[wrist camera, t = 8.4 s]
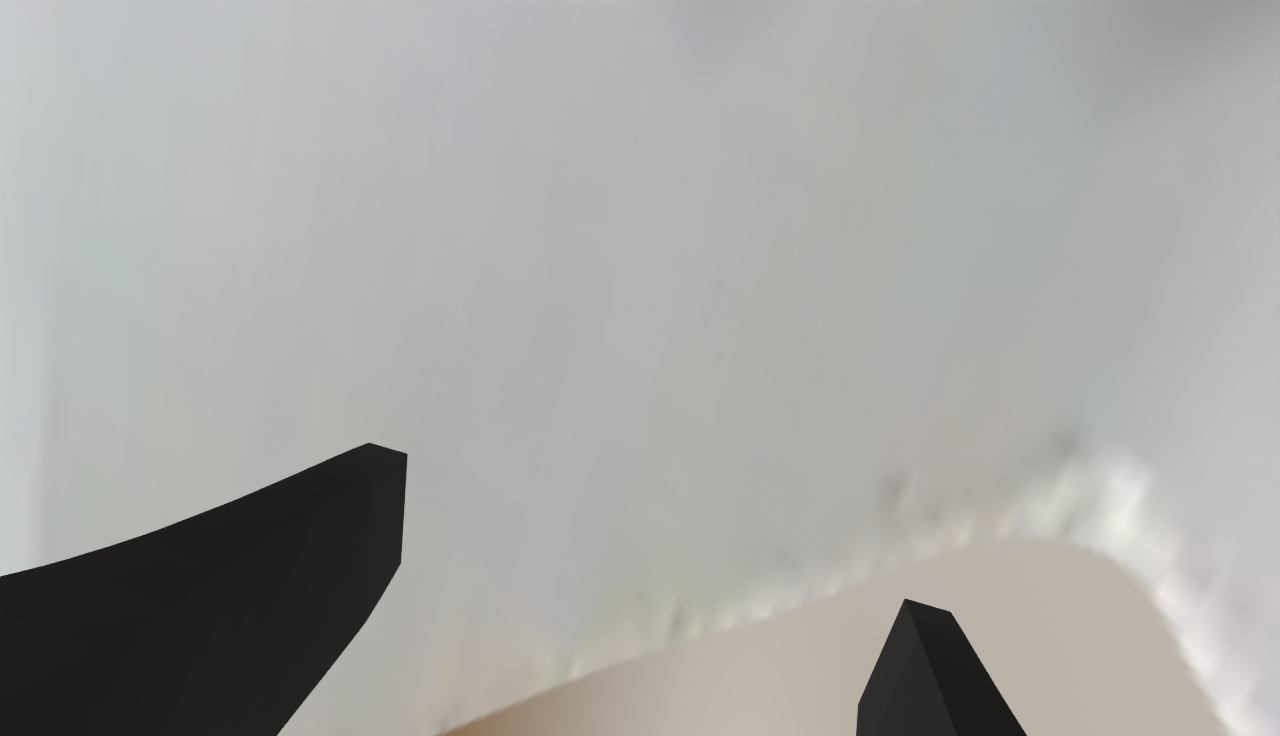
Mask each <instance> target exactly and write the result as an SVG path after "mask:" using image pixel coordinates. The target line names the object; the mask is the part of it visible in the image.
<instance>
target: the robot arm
mask: <svg viewBox="0 0 1280 736" xmlns="http://www.w3.org/2000/svg"><path fill="white" fill-rule="evenodd" d="M407 455H408V454H406V453H403V452H399V451H396V450H392V449H389V448H385V447H382V446H379V445H375V444H372V443H367V444H364V445H362V446H359V447H357V448H354V449H352V450H349V451H347V452H344V453H342V454H340V455H338V456H335V457H333V458H331V459H328V460H326V461H324V462H322V463H319V464H317V465H315V466H313V467H310V468H308V469H306V470H304V471H301V472H299V473H297V474H295V475H292V476H290V477H288V478H285V479H283V480H281V481H278V482H276V483H274V484H271V485H269V486H267V487H265V488H262V489H260V490H258V491H255V492H253V493H251V494H248V495H246V496H244V497H241V498H239V499H237V500H234V501H232V502H229V503H227V504H224V505H221V506H219V507H216V508H214V509H211V510H208V511H206V512H203V513H201V514H198V515H195V516H193V517H190V518H188V519H185V520H183V521H180V522H177V523H175V524H172V525H170V526H167V527H164V528H162V529H159V530H157V531H154V532H151V533H148V534H145V535H142V536H139V537H136V538H133V539H130V540H127V541H124V542H121V543H118V544H115V545H112V546H109V547H106V548H102V549H99V550H96V551H93V552H89V553H86V554H83V555H79V556H76V557H73V558H70V559H66V560H63V561H59V562H56V563H52V564H49V565H45V566H41V567H37V568H33V569H29V570H25V571H21V572H17V573H13V574H9V575H5V576H1V577H0V736H277V735H278V733H279V732H280V731H281V729H282V728H283V727H284V726H285V724H286V723H287V722H288V721H289V719H290V718H291V717H292V716H293V714H294V713H295V712H296V711H297V709H298V708H299V707H300V705H301V704H302V703H303V702H304V700H305V699H306V698H307V697H308V695H309V694H310V693H311V692H312V690H313V689H314V688H315V687H316V685H317V684H318V683H319V681H320V680H321V679H322V678H323V676H324V675H325V674H326V673H327V671H328V670H329V669H330V668H331V666H332V665H333V664H334V662H335V661H336V660H337V659H338V657H339V656H340V655H341V653H342V652H343V651H344V650H345V648H346V647H347V646H348V644H349V643H350V642H351V641H352V639H353V638H354V637H355V635H356V634H357V633H358V632H359V630H360V629H361V628H362V626H363V625H364V624H365V622H366V621H367V619H368V618H369V616H370V614H371V613H372V611H373V609H374V608H375V606H376V605H377V603H378V601H379V600H380V598H381V597H382V595H383V593H384V591H385V590H386V588H387V586H388V585H389V583H390V581H391V579H392V578H393V576H394V574H395V572H396V571H397V569H398V567H399V566H400V564H401V552H402V536H403V520H404V503H405V487H406V471H407ZM856 736H1027V735H1026V733H1025V732H1024V730H1023V729H1022V727H1021V726H1020V724H1019V722H1018V721H1017V719H1016V718H1015V716H1014V715H1013V713H1012V712H1011V710H1010V708H1009V707H1008V705H1007V704H1006V702H1005V700H1004V699H1003V697H1002V696H1001V694H1000V692H999V691H998V689H997V687H996V686H995V684H994V682H993V681H992V679H991V677H990V676H989V674H988V672H987V671H986V669H985V668H984V666H983V664H982V663H981V661H980V659H979V658H978V656H977V654H976V653H975V651H974V649H973V648H972V646H971V644H970V643H969V641H968V639H967V638H966V636H965V634H964V633H963V631H962V629H961V628H960V626H959V624H958V623H957V621H956V620H955V618H954V616H953V615H952V613H951V612H949V611H946V610H943V609H939V608H935V607H932V606H929V605H925V604H922V603H918V602H915V601H912V600H908V599H904V601H903V604H902V606H901V608H900V611H899V613H898V616H897V618H896V620H895V622H894V624H893V627H892V629H891V631H890V633H889V636H888V638H887V640H886V643H885V645H884V647H883V649H882V652H881V654H880V656H879V658H878V661H877V663H876V665H875V668H874V670H873V672H872V674H871V677H870V679H869V681H868V683H867V686H866V688H865V690H864V693H863V695H862V697H861V700H860V702H859V704H858V716H857V732H856Z"/></svg>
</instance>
